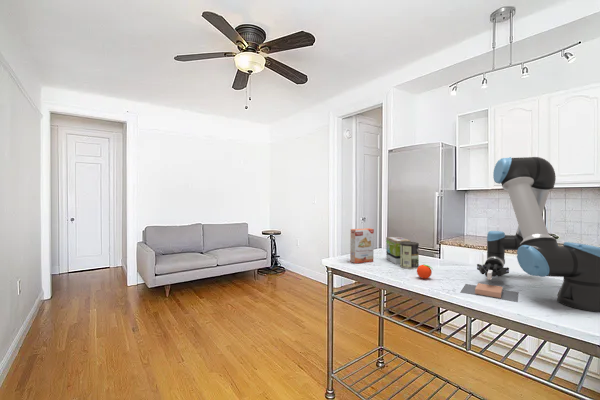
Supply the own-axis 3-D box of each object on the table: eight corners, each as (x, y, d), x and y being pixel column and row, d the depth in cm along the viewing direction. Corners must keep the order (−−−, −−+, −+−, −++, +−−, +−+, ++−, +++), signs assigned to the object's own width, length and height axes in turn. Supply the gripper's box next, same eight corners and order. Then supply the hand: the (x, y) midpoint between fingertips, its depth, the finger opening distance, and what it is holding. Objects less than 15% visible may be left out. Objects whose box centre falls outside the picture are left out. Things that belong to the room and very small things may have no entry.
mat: (518, 293, 128) (518, 292, 128) (517, 303, 116) (517, 302, 116) (465, 284, 140) (465, 283, 140) (459, 293, 128) (459, 292, 128)
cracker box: (355, 264, 184) (355, 229, 183) (349, 262, 189) (349, 228, 189) (374, 261, 189) (374, 228, 189) (368, 260, 195) (368, 227, 194)
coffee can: (417, 265, 179) (417, 241, 179) (420, 269, 169) (420, 244, 169) (399, 264, 181) (399, 241, 181) (401, 268, 171) (401, 244, 171)
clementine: (435, 278, 151) (435, 264, 151) (431, 281, 146) (431, 267, 146) (419, 275, 156) (419, 262, 156) (414, 278, 151) (414, 264, 151)
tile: (502, 286, 128) (500, 292, 120) (502, 292, 128) (500, 298, 120) (478, 283, 133) (475, 288, 125) (478, 288, 133) (475, 294, 125)
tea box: (385, 259, 196) (385, 236, 196) (400, 258, 197) (400, 236, 197) (395, 264, 181) (395, 240, 181) (411, 264, 182) (411, 239, 182)
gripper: (510, 275, 142) (507, 287, 123) (478, 271, 150) (471, 282, 131) (510, 259, 142) (507, 269, 123) (478, 256, 150) (471, 265, 131)
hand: (489, 276), depth 127 cm, fingers closed
